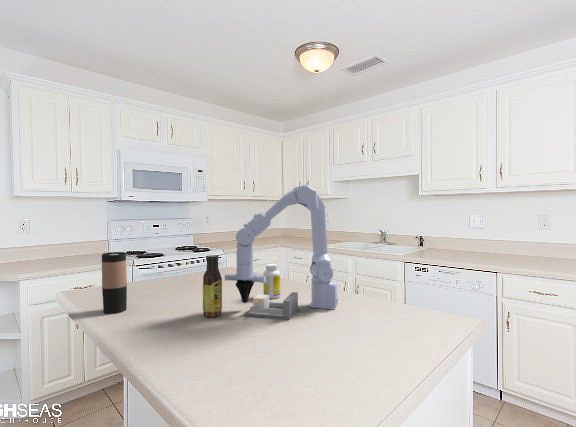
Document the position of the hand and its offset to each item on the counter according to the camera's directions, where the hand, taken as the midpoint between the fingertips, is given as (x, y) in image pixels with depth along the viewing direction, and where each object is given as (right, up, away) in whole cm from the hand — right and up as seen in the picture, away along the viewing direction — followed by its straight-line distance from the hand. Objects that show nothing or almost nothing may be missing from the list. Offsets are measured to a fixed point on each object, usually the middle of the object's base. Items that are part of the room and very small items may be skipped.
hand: (245, 301), depth 119 cm
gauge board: (+10, -3, -3) cm, 10 cm away
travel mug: (-45, -3, 0) cm, 45 cm away
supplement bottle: (+8, -3, +17) cm, 19 cm away
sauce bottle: (-10, -3, -5) cm, 12 cm away
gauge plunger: (+5, -2, -3) cm, 6 cm away
